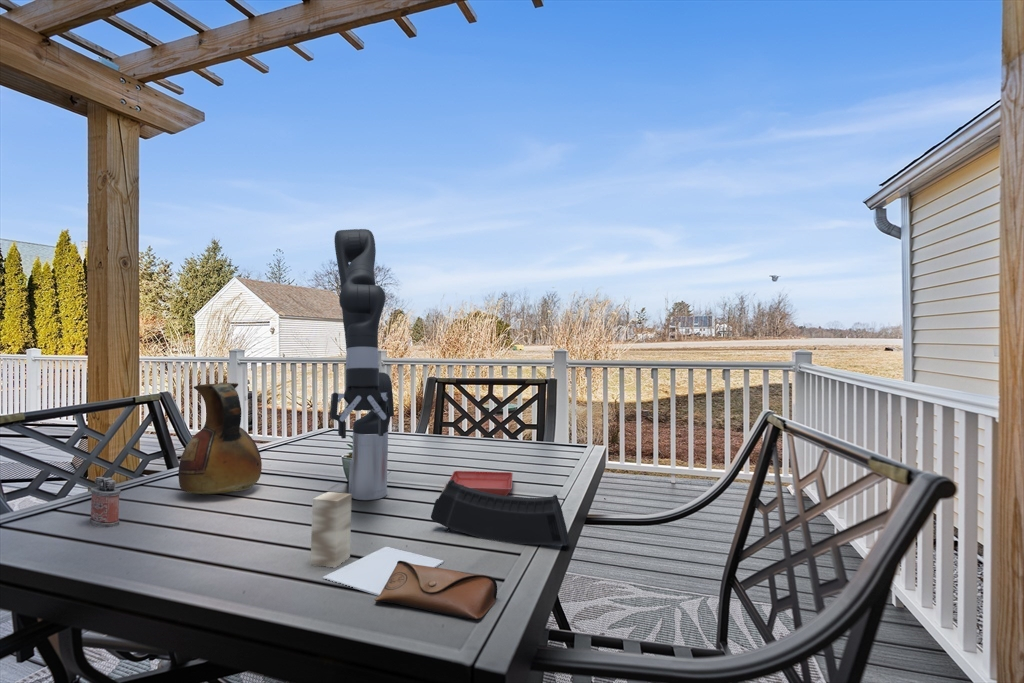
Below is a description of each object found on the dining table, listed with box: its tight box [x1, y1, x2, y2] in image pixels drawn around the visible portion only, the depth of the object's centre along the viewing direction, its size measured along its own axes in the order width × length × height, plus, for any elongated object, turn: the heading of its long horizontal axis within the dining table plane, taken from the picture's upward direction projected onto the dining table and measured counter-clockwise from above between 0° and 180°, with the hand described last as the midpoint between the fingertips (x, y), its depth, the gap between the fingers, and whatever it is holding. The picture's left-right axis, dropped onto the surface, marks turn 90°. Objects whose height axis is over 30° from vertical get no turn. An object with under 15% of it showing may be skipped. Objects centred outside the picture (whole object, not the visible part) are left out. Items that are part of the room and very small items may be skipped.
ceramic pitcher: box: [177, 381, 263, 495], centre depth 139 cm, size 20×20×30 cm
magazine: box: [430, 479, 570, 546], centre depth 109 cm, size 17×3×30 cm
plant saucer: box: [446, 470, 514, 496], centre depth 148 cm, size 18×18×3 cm
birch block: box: [310, 491, 352, 569], centre depth 95 cm, size 5×5×12 cm
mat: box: [322, 546, 445, 597], centre depth 92 cm, size 14×16×1 cm
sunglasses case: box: [374, 561, 498, 620], centre depth 81 cm, size 18×7×7 cm
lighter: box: [89, 476, 121, 529], centre depth 113 cm, size 8×3×10 cm, turn 65°
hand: (362, 437), depth 119 cm, fingers open, 8 cm apart
